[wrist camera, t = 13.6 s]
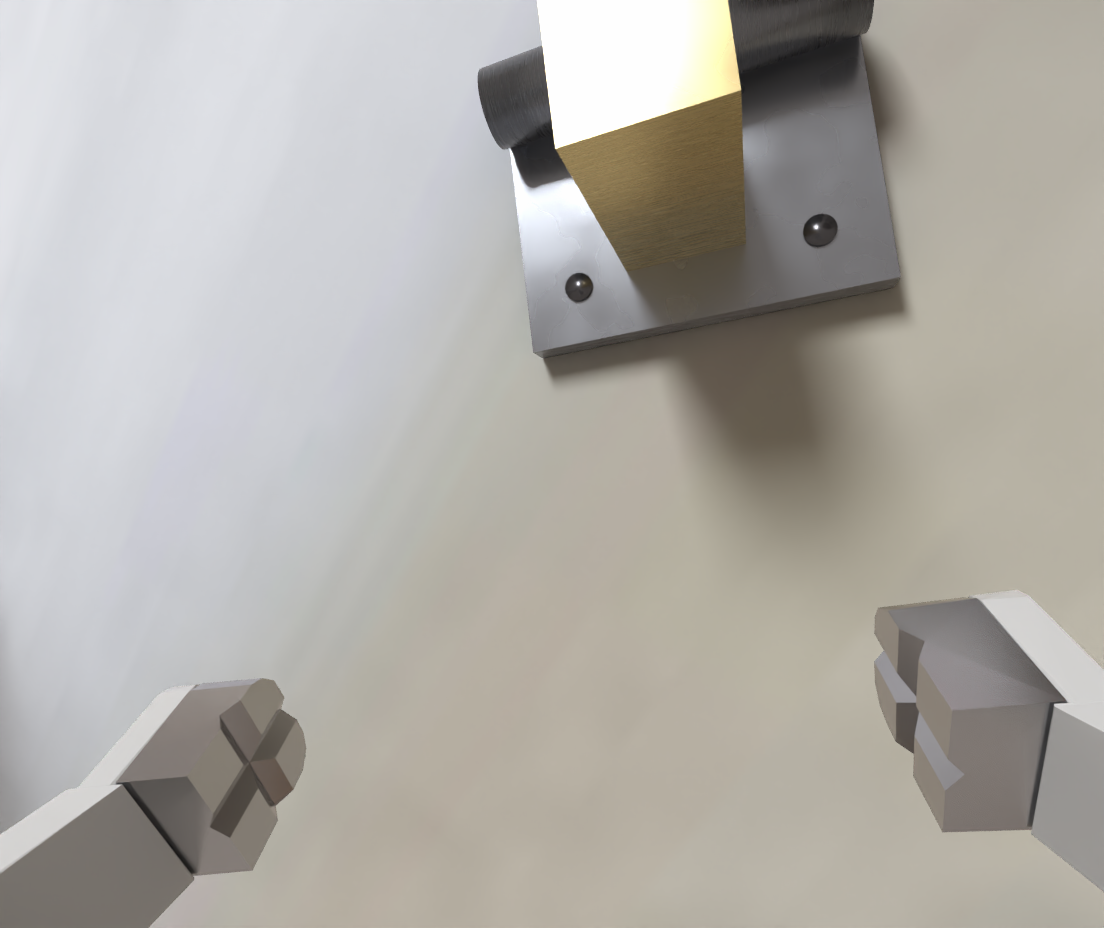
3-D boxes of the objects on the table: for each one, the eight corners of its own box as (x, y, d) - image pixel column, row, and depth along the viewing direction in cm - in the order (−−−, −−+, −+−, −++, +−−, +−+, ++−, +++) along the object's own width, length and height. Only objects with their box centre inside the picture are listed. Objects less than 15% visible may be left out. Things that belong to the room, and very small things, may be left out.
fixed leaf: (893, 287, 19) (923, 243, 16) (542, 358, 23) (505, 334, 20) (845, -2, 20) (864, -103, 17) (514, 111, 24) (473, 48, 20)
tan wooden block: (748, 242, 20) (744, 89, 12) (626, 271, 21) (555, 148, 13) (731, 128, 20) (717, -92, 13) (612, 163, 21) (535, -17, 14)
